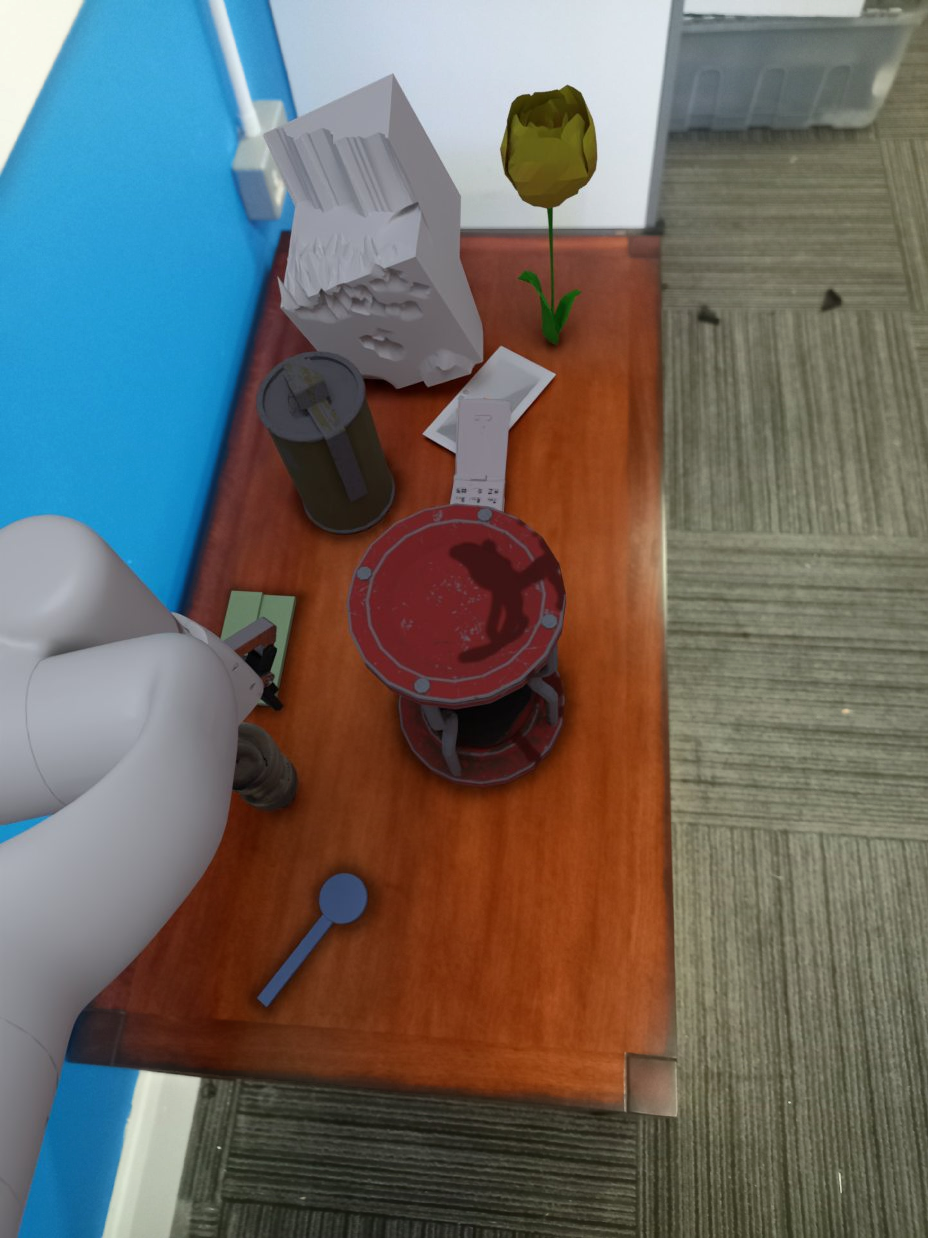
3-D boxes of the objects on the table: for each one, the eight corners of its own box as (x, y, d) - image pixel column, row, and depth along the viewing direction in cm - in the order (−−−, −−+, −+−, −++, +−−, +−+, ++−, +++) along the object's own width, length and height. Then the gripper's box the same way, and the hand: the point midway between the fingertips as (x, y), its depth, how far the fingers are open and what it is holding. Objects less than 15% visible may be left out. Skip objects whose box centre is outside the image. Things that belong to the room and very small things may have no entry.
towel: (275, 706, 90) (271, 702, 88) (209, 702, 90) (204, 697, 89) (297, 599, 94) (293, 593, 93) (233, 596, 95) (229, 590, 94)
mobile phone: (512, 397, 95) (487, 607, 85) (515, 431, 101) (492, 632, 90) (456, 396, 96) (425, 604, 86) (462, 429, 101) (434, 629, 91)
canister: (288, 482, 101) (229, 363, 83) (369, 440, 102) (328, 314, 84) (329, 553, 96) (276, 444, 78) (413, 508, 98) (380, 391, 80)
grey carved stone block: (494, 387, 100) (383, 219, 80) (372, 423, 106) (239, 276, 86) (494, 254, 109) (394, 72, 88) (381, 295, 115) (262, 133, 94)
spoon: (281, 1019, 77) (278, 1019, 77) (245, 986, 79) (242, 986, 78) (378, 894, 81) (376, 893, 80) (342, 864, 82) (340, 863, 82)
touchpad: (556, 380, 103) (556, 367, 101) (478, 471, 99) (476, 460, 97) (501, 351, 105) (500, 339, 103) (423, 439, 101) (420, 428, 99)
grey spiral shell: (258, 768, 87) (202, 721, 73) (313, 761, 87) (267, 712, 73) (258, 826, 85) (201, 788, 71) (315, 819, 84) (268, 779, 71)
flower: (575, 306, 107) (580, 62, 80) (597, 356, 104) (610, 119, 77) (506, 326, 107) (488, 88, 80) (526, 376, 104) (514, 146, 76)
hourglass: (537, 809, 83) (529, 729, 60) (377, 760, 86) (312, 666, 64) (583, 655, 89) (591, 528, 66) (432, 614, 92) (390, 481, 69)
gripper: (66, 811, 51) (181, 865, 66) (270, 591, 56) (333, 688, 71) (-13, 737, 54) (116, 805, 69) (188, 532, 58) (267, 638, 74)
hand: (226, 745), depth 70 cm, fingers open, 9 cm apart
